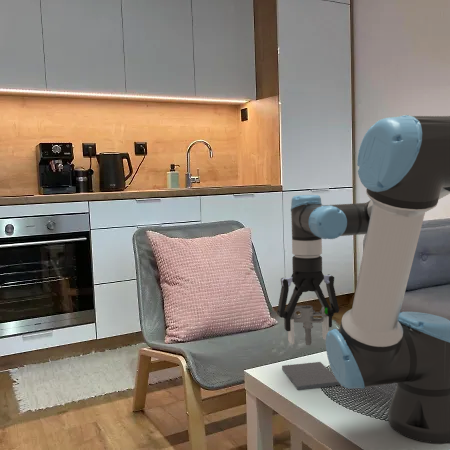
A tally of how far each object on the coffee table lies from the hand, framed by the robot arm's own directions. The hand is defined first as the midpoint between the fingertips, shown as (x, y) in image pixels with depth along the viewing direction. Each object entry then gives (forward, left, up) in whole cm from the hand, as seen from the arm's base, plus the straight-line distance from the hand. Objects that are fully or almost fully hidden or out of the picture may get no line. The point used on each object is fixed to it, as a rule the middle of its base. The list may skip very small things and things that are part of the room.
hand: (308, 340), depth 132 cm
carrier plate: (0, 0, -10) cm, 10 cm away
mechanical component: (0, 0, -1) cm, 1 cm away
